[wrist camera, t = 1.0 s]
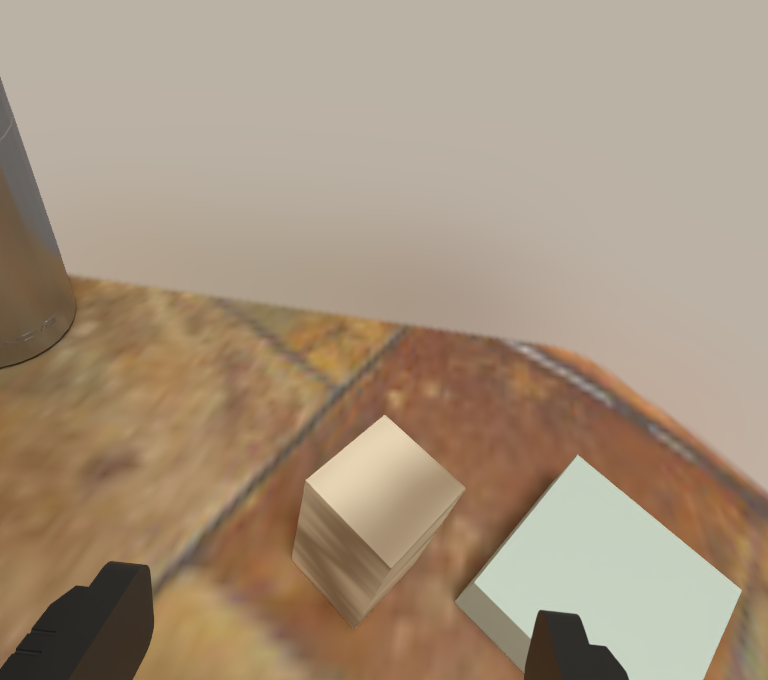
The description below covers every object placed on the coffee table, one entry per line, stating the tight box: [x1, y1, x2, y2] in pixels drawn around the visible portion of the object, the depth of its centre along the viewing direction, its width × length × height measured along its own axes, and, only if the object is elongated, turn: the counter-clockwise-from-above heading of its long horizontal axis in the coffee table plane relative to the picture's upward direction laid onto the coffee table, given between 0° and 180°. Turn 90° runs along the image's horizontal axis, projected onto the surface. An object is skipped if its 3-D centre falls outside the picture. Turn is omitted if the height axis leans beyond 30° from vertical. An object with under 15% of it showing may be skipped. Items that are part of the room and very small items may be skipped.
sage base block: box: [455, 455, 742, 680], centre depth 31 cm, size 11×11×4 cm
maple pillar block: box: [291, 415, 466, 630], centre depth 28 cm, size 5×5×10 cm
